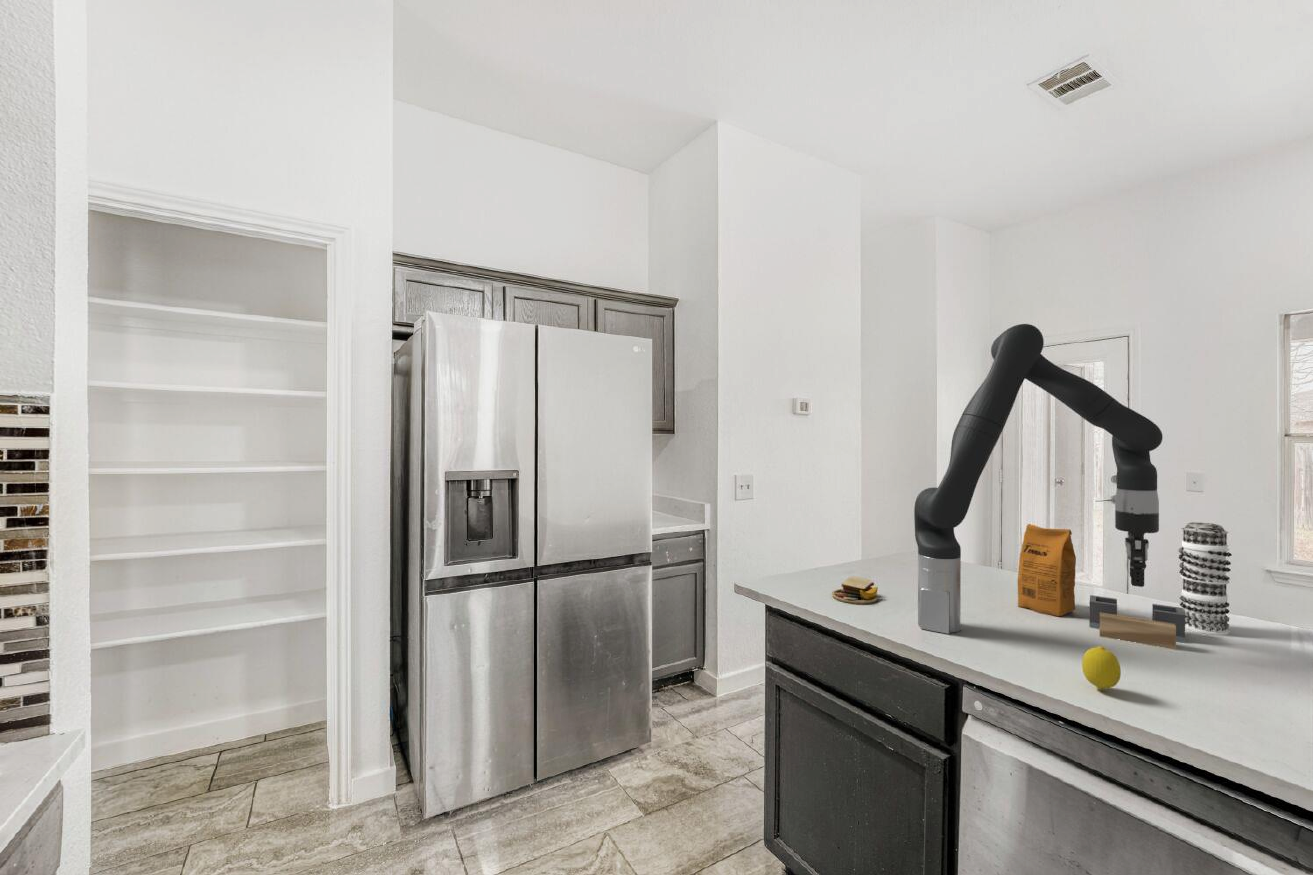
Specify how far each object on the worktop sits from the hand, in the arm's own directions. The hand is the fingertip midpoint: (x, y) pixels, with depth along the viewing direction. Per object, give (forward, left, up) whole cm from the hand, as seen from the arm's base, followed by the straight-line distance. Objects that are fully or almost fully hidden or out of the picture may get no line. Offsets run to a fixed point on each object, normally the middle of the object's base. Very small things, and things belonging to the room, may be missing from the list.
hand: (1136, 581), depth 129 cm
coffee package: (+15, +18, -13) cm, 27 cm away
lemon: (-36, +6, -13) cm, 39 cm away
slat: (0, 0, -13) cm, 13 cm away
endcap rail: (+9, 0, -13) cm, 16 cm away
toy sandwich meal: (-5, +62, -14) cm, 63 cm away
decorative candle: (+20, -13, -13) cm, 27 cm away
